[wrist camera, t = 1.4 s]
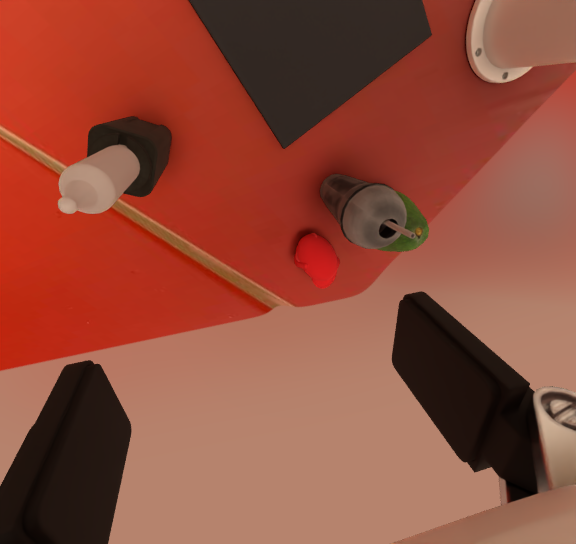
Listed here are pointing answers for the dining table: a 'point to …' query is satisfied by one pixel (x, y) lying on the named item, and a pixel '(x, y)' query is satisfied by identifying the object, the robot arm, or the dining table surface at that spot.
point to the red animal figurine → (317, 259)
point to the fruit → (410, 228)
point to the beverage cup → (365, 210)
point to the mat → (310, 51)
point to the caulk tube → (115, 165)
